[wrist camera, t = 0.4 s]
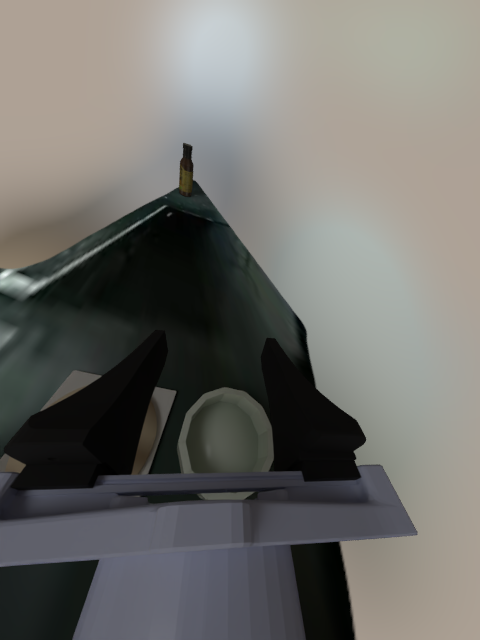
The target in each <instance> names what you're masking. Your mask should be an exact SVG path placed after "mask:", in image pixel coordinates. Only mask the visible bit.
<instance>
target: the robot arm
mask: <svg viewBox="0 0 480 640" xmlns="http://www.w3.org/2000/svg"><path fill="white" fill-rule="evenodd" d="M167 353H168V348H167V341H166V335H165V331H162V330H155V331H154V332H153V333H152V334H151V335H150V336H149V337H148V338H147V339H146V340H145V341H144V342H143V343H142V344H141V345H140V346H138V347H137V348H136V349H135V350H134V351H133V352H132V353H131V354H130V355H128V356H127V357H126V358H125V359H124V360H123V361H121V362H120V363H119V364H118V365H116V366H115V367H114V368H113V369H111V370H110V371H108V372H107V373H106V374H104V375H103V376H101V377H100V378H98V379H97V380H95V381H94V382H92V383H91V384H89V385H88V386H86V387H84V388H83V389H81V390H79V391H78V392H76V393H74V394H73V395H71V396H69V397H67V398H65V399H64V400H62V401H60V402H58V403H56V404H54V405H52V406H50V407H48V408H46V409H44V410H42V411H40V412H38V413H36V414H34V415H32V416H31V417H30V418H29V419H28V420H27V421H26V422H25V423H24V425H23V426H22V427H21V428H20V429H19V431H18V432H17V433H16V434H15V435H14V436H13V438H12V439H11V440H10V441H9V442H8V444H7V445H6V446H5V448H4V452H5V453H6V454H7V455H8V456H10V457H12V458H14V459H16V460H18V461H19V462H21V463H23V464H25V465H26V466H25V467H24V468H23V470H22V471H21V473H18V472H0V567H2V566H16V565H29V564H43V563H56V562H70V561H84V560H98V559H100V560H99V563H98V566H97V569H96V572H95V575H94V578H93V581H92V584H91V586H90V589H89V592H88V595H87V598H86V601H85V604H84V607H83V610H82V613H81V616H80V619H79V622H78V624H77V627H76V630H75V633H74V636H73V639H72V640H306V637H305V631H304V625H303V619H302V613H301V607H300V601H299V595H298V589H297V583H296V577H295V571H294V565H293V559H292V553H291V547H290V545H298V544H311V543H324V542H337V541H348V540H349V541H350V540H363V539H376V538H389V537H400V536H413V535H417V531H416V529H415V527H414V525H413V523H412V521H411V520H410V518H409V516H408V514H407V512H406V510H405V508H404V506H403V505H402V503H401V501H400V499H399V497H398V495H397V493H396V491H395V490H394V488H393V486H392V484H391V482H390V480H389V478H388V476H387V475H386V473H385V471H384V469H383V467H382V466H381V465H360V466H356V464H355V461H354V460H355V459H356V456H355V454H354V452H353V451H354V450H356V449H357V448H359V447H360V446H362V445H363V444H364V443H365V441H366V437H365V435H364V433H363V432H362V429H361V428H360V426H359V424H358V422H357V421H356V420H355V419H353V418H352V417H351V416H349V415H348V414H347V413H345V412H344V411H342V410H341V409H340V408H338V407H337V406H336V405H335V404H333V403H332V402H331V401H329V400H328V399H327V398H326V397H325V396H324V395H322V394H321V393H320V392H319V391H318V390H317V389H316V388H315V387H314V386H313V385H312V384H311V383H310V382H309V381H308V380H307V379H306V378H305V377H304V376H303V375H302V374H301V373H300V372H299V370H298V369H297V368H296V367H295V365H294V364H293V363H292V362H291V360H290V359H289V358H288V356H287V355H286V354H285V352H284V351H283V349H282V348H281V347H280V345H279V344H278V342H277V341H276V339H275V338H267V339H266V342H265V345H264V349H263V352H262V355H261V363H262V371H263V376H264V381H265V386H266V390H267V395H268V400H269V407H270V415H271V425H272V437H273V450H274V470H275V472H235V473H190V474H145V475H131V474H132V470H133V466H134V461H135V457H136V453H137V448H138V444H139V440H140V436H141V432H142V429H143V425H144V421H145V417H146V414H147V410H148V407H149V404H150V400H151V397H152V395H153V392H154V390H155V387H156V385H157V382H158V380H159V377H160V375H161V372H162V370H163V367H164V365H165V361H166V357H167ZM258 491H266V492H260V493H258V498H256V499H254V500H196V501H181V502H170V503H160V504H151V503H149V502H148V499H147V497H135V496H146V495H174V494H202V493H230V492H258Z"/></svg>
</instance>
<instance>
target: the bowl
mask: <svg viewBox="0 0 480 640" xmlns="http://www.w3.org/2000/svg"><path fill="white" fill-rule="evenodd" d="M177 452H178V457H179V463H180V468H181V474H190V473H235V472H268V471H269V469H270V467H271V464H272V462H273V460H274V459H273V458H274V450H273V437H272V426H271V424H270V422H269V420H268V418H267V415H266V413H265V411H264V409H263V407H262V406H261V405H260V404H259V403H258V402H257V401H256V400H254V399H253V398H252V397H251V396H250V395H248V394H247V393H246V392H245V391H240V390H235V389H231V388H226V387H225V388H221V389H218V390H215V391H212V392H208V393H205V394H203V395H202V397H201V398H200V399H199V400H198V401H197V402H196V403H195V404H194V405H193V406H192V407H191V409H190V410H189V411H188V412H187V413H186V416H185V420H184V423H183V427H182V430H181V434H180V438H179V441H178V446H177ZM252 493H254V492H230V493H202V494H197V495H198V496H199V497H200V498H201V499H204V500H244V499H245V498H247V497H248V496H249V495H251V494H252Z"/></svg>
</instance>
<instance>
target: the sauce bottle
mask: <svg viewBox="0 0 480 640" xmlns="http://www.w3.org/2000/svg"><path fill="white" fill-rule="evenodd" d="M183 148H184V149H183V158H182V159H181V161H180V181H179V192H180V194H181V195H183V196H187V197H190V196H191V192H192V181H193V163H192V160H191V154H192V146H191V145H189V144H186V143H183Z"/></svg>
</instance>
